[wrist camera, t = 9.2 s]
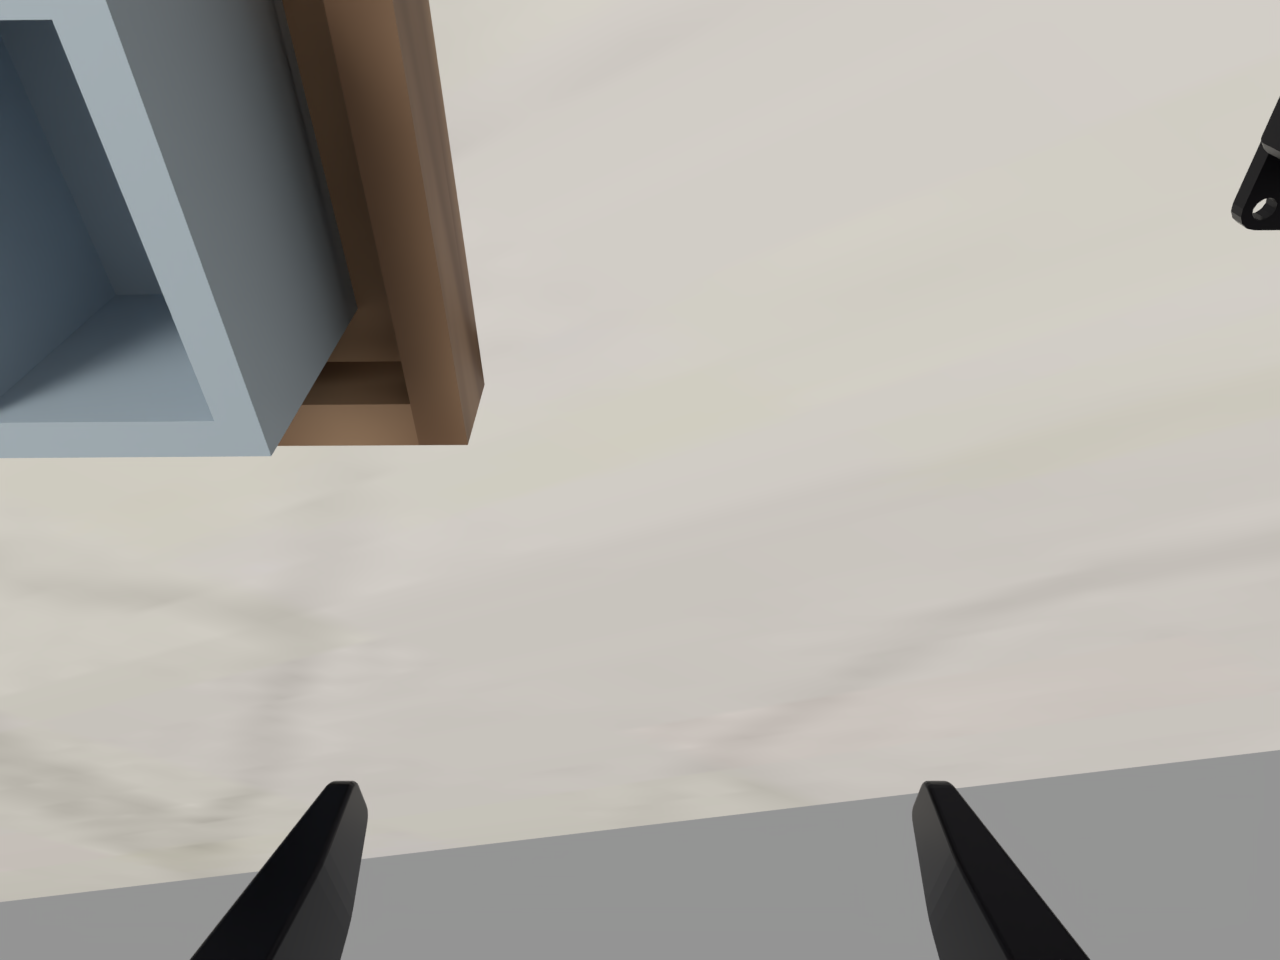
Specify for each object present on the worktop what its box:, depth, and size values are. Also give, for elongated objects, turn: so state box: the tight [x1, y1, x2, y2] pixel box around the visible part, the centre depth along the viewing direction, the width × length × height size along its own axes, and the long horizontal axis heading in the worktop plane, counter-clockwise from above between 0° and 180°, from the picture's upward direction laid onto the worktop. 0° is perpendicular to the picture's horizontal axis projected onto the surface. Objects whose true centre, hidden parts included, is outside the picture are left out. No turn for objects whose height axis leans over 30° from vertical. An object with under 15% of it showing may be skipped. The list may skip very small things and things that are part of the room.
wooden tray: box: [278, 0, 485, 446], centre depth 17 cm, size 11×13×3 cm
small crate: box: [0, 0, 358, 458], centre depth 15 cm, size 6×8×6 cm
